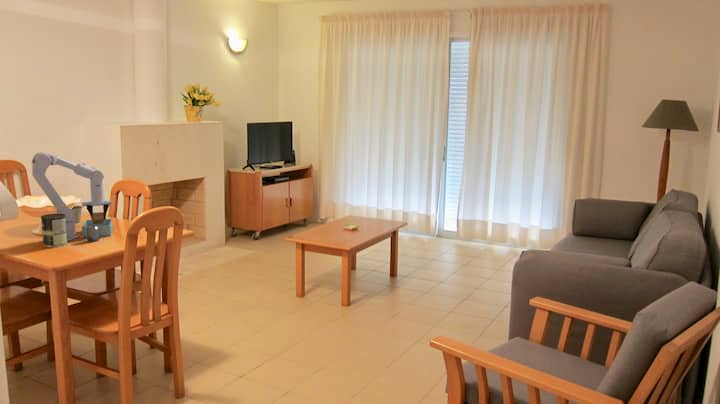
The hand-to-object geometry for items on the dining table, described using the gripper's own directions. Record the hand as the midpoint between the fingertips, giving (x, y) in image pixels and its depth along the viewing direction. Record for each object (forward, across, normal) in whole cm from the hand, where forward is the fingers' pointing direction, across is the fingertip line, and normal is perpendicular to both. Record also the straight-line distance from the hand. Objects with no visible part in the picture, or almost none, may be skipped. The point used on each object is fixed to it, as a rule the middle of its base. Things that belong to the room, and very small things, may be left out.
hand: (98, 219), depth 296 cm
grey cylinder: (+8, -2, -13) cm, 15 cm away
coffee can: (+8, -18, -17) cm, 26 cm away
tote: (+8, -1, +4) cm, 9 cm away
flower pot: (+8, -16, +35) cm, 40 cm away
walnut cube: (+2, 0, 0) cm, 2 cm away
